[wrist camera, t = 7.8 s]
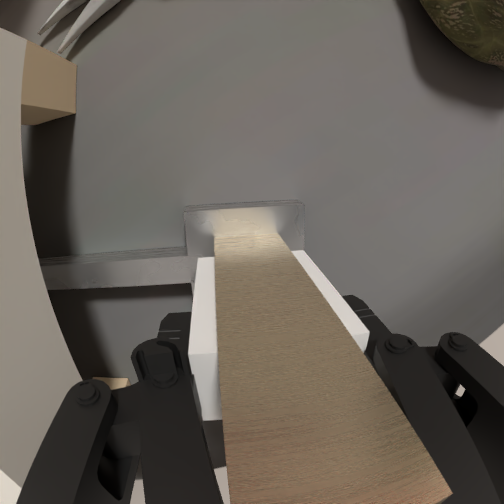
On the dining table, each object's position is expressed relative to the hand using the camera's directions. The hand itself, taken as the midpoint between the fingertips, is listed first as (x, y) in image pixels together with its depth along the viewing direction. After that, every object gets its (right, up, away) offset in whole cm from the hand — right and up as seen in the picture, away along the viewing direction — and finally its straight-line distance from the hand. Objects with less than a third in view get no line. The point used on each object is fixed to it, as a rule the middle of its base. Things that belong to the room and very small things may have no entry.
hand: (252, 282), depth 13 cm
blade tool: (-10, 0, +2) cm, 11 cm away
